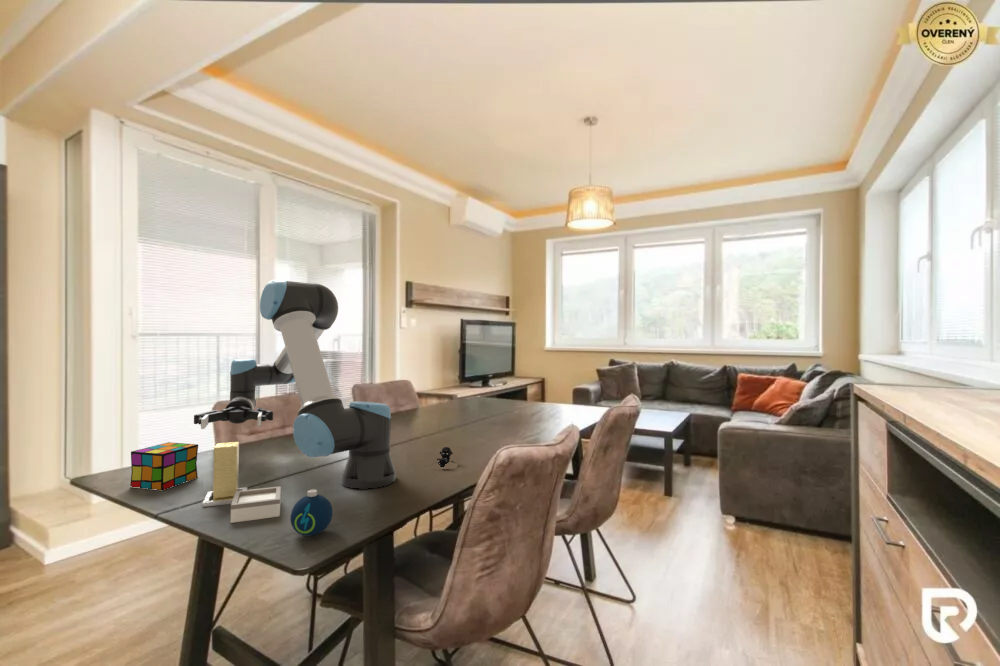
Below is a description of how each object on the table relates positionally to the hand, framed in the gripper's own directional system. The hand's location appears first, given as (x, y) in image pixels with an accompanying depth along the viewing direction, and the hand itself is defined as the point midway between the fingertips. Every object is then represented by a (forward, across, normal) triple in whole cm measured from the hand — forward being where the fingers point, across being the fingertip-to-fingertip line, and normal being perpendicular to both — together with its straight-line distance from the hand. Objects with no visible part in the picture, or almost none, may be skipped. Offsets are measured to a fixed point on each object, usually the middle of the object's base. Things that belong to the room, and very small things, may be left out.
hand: (231, 422), depth 127 cm
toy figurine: (+2, -62, -18) cm, 64 cm away
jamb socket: (+10, 0, -18) cm, 20 cm away
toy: (-10, +17, -18) cm, 27 cm away
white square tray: (+23, -8, -18) cm, 30 cm away
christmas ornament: (+41, -20, -18) cm, 49 cm away
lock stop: (+10, 0, -18) cm, 20 cm away
